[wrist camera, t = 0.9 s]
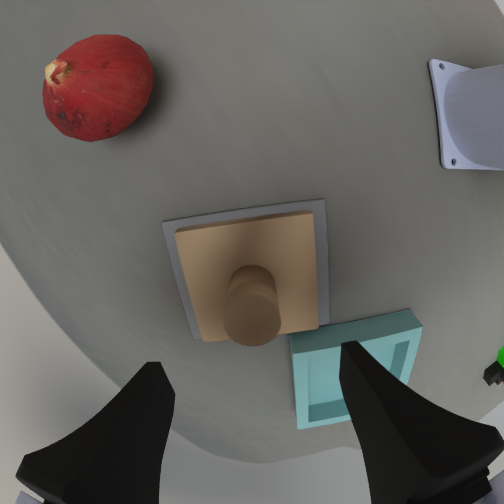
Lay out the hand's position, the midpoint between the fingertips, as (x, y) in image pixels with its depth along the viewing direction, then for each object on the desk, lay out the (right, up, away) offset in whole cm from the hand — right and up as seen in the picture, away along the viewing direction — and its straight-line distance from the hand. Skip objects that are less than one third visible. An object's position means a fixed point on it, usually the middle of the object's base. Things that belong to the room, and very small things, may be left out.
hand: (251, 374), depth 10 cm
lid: (0, +3, +8) cm, 8 cm away
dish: (+8, -5, +11) cm, 15 cm away
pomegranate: (-8, +15, +4) cm, 17 cm away
